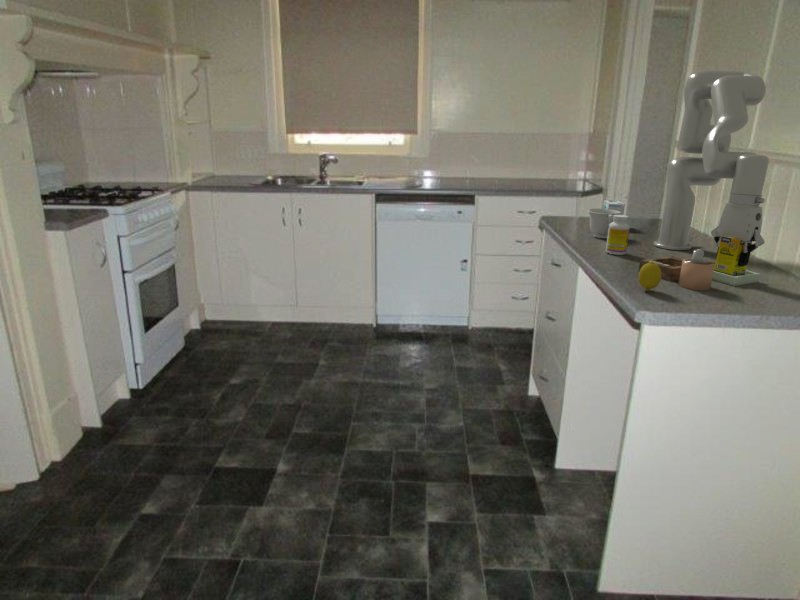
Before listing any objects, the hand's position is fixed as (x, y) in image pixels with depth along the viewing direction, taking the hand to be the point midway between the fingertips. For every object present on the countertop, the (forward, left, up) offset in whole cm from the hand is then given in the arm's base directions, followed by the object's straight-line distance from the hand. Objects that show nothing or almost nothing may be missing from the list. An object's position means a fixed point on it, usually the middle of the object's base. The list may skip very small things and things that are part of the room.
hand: (731, 262), depth 164 cm
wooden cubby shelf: (+11, -11, -5) cm, 16 cm away
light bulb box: (-30, -74, -5) cm, 80 cm away
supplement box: (0, 0, -4) cm, 4 cm away
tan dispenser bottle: (+16, +1, -5) cm, 17 cm away
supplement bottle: (+6, -37, -5) cm, 38 cm away
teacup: (-10, -59, -5) cm, 60 cm away
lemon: (+32, -1, -5) cm, 33 cm away
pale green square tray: (0, 0, -5) cm, 5 cm away
